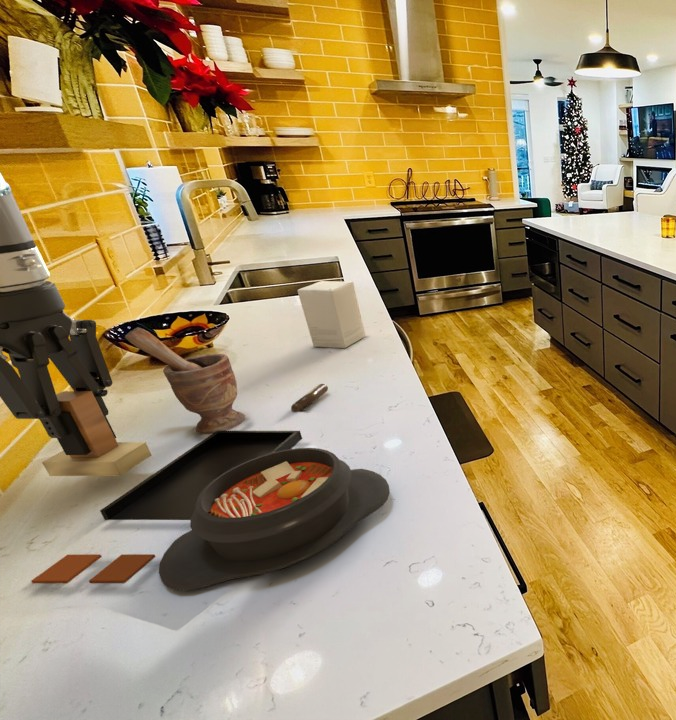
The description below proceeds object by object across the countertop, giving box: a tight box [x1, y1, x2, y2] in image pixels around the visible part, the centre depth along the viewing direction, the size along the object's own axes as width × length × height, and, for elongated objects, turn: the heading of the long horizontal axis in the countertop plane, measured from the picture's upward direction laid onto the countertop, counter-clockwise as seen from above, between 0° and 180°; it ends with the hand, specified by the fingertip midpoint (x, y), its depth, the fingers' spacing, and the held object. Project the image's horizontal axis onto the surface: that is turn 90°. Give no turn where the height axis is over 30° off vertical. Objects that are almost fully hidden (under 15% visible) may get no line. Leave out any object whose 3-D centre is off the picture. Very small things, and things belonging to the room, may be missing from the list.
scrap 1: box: [30, 553, 102, 584], centre depth 59 cm, size 4×4×2 cm
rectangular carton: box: [296, 280, 367, 349], centre depth 126 cm, size 9×9×15 cm
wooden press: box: [41, 390, 152, 477], centre depth 70 cm, size 10×5×11 cm, turn 90°
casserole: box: [158, 447, 390, 591], centre depth 64 cm, size 25×19×8 cm
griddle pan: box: [99, 383, 329, 521], centre depth 84 cm, size 14×39×3 cm, turn 0°
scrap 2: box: [88, 553, 156, 584], centre depth 59 cm, size 4×4×2 cm
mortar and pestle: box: [124, 326, 246, 435], centre depth 85 cm, size 12×9×20 cm
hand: (91, 445), depth 71 cm, fingers closed on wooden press, 3 cm apart
